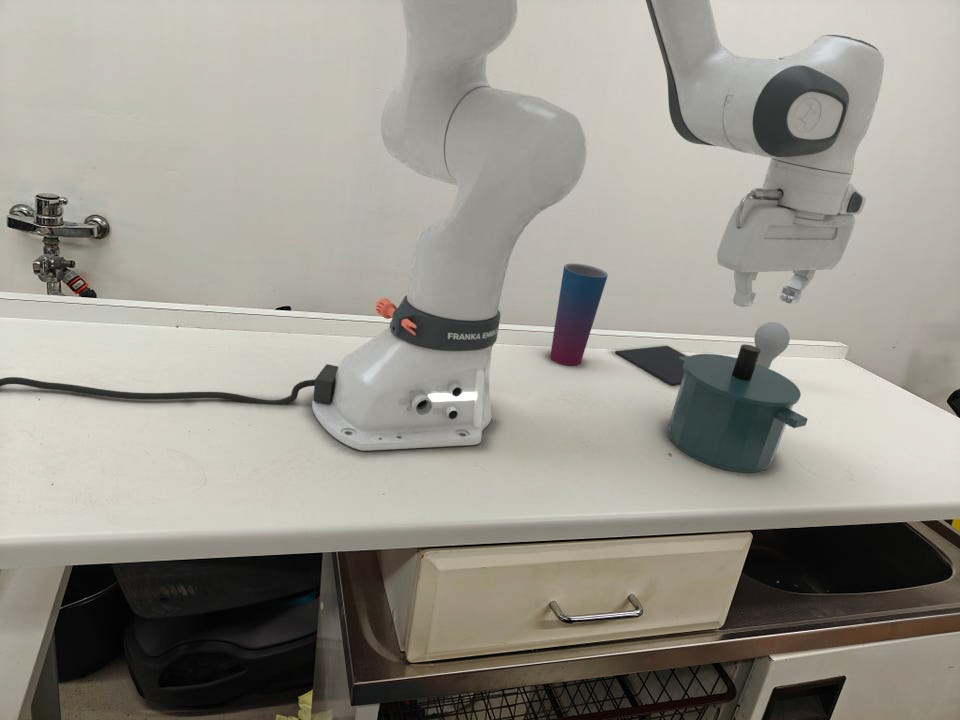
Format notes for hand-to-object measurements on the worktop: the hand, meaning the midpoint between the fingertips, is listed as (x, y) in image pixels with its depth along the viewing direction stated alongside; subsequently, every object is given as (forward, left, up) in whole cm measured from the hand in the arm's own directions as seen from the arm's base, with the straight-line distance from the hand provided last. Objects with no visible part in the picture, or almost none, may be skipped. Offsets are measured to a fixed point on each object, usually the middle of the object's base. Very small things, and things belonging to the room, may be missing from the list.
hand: (765, 303), depth 89 cm
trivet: (+15, +23, -20) cm, 34 cm away
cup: (-3, +29, -20) cm, 35 cm away
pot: (0, 0, -20) cm, 20 cm away
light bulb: (+29, +15, -20) cm, 38 cm away
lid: (0, 0, -11) cm, 11 cm away
